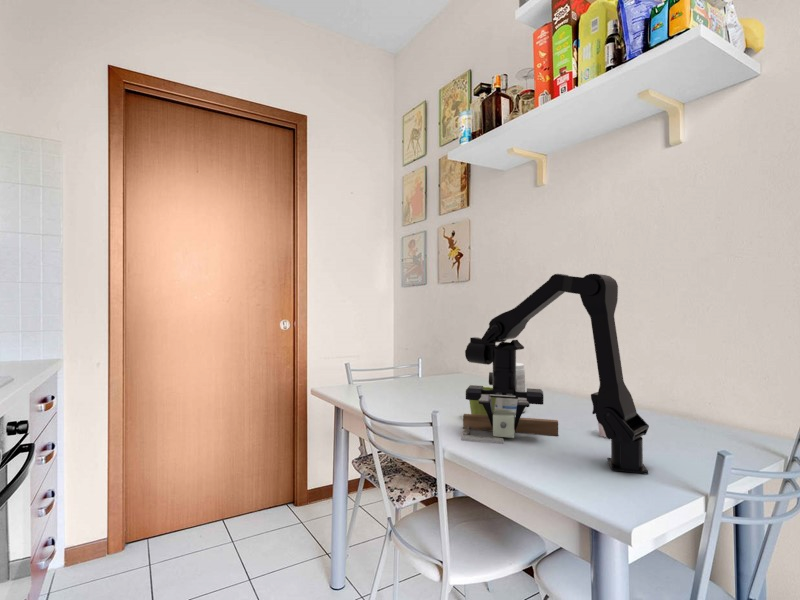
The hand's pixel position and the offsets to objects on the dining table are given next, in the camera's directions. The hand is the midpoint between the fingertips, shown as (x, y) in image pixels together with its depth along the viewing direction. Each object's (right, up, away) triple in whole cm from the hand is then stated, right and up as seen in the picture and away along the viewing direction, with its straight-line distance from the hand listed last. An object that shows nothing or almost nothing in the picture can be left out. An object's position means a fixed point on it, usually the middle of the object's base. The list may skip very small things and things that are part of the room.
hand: (504, 428), depth 111 cm
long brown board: (+3, -2, +5) cm, 6 cm away
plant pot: (-2, -2, +17) cm, 17 cm away
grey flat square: (-5, -2, +1) cm, 5 cm away
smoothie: (+26, -2, +1) cm, 27 cm away
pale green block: (0, -1, 0) cm, 1 cm away
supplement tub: (+8, -3, +27) cm, 28 cm away
